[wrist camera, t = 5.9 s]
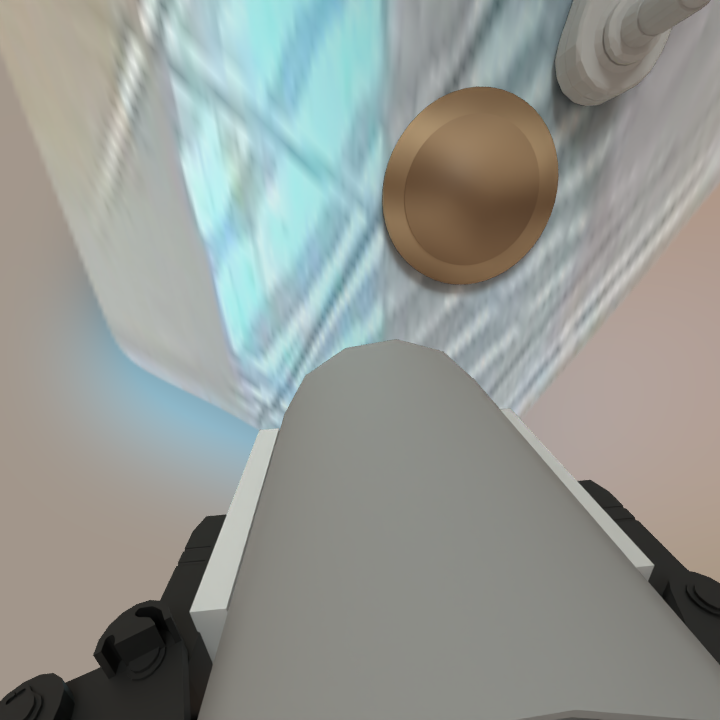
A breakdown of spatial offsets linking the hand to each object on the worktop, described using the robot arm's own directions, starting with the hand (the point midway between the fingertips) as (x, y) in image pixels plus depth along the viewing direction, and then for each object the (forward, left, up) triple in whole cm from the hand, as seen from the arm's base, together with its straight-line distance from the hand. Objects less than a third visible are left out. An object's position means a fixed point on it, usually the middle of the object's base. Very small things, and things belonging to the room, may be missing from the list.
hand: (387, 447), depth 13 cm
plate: (-10, +8, -14) cm, 19 cm away
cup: (0, 0, -1) cm, 1 cm away
